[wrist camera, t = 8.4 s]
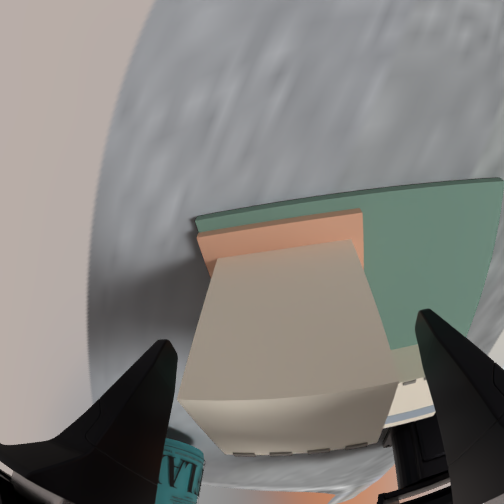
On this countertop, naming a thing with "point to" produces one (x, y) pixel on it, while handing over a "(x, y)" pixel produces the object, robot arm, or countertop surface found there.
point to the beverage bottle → (179, 474)
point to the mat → (409, 245)
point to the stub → (290, 354)
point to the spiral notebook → (409, 389)
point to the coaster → (283, 235)
